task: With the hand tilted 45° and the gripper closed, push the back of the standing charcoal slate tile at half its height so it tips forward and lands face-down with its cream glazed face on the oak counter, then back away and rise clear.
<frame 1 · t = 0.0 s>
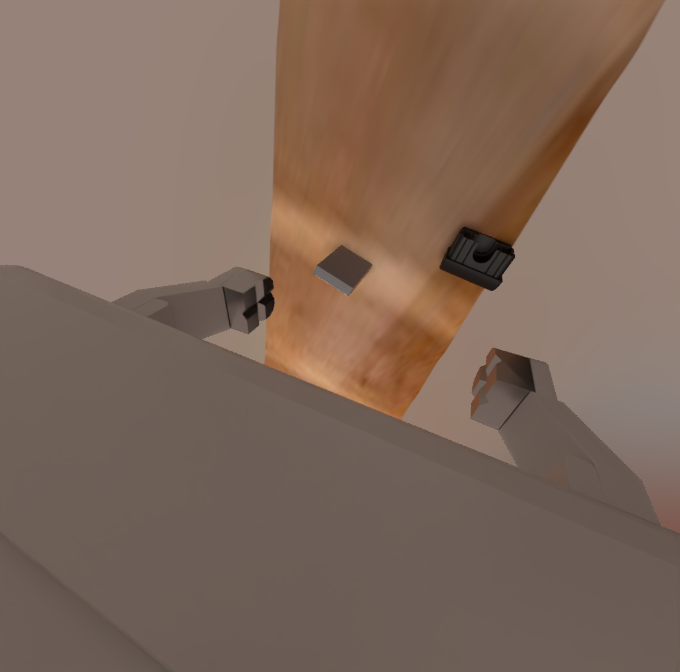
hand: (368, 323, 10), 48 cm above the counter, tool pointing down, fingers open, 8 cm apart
slate tile: (355, 258, 62), on the counter
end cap: (476, 253, 52), on the counter
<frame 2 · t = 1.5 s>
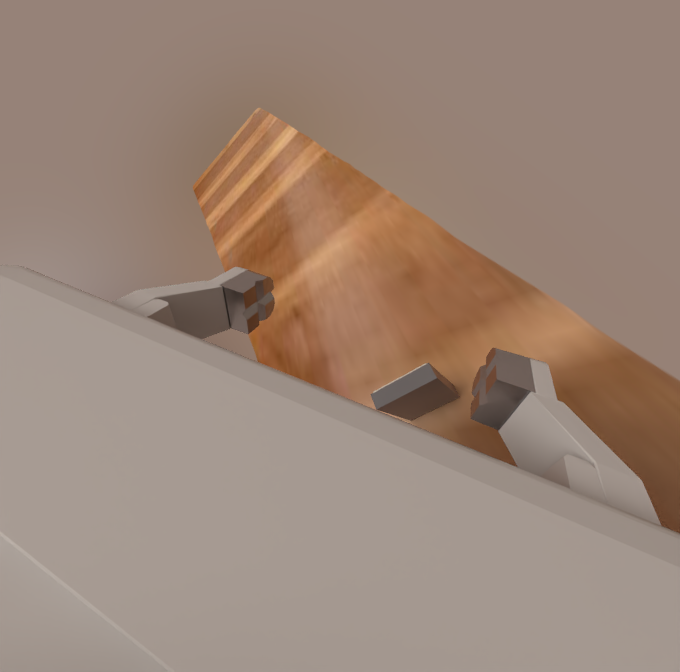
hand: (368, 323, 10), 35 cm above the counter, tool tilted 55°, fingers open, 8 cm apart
slate tile: (431, 403, 42), on the counter
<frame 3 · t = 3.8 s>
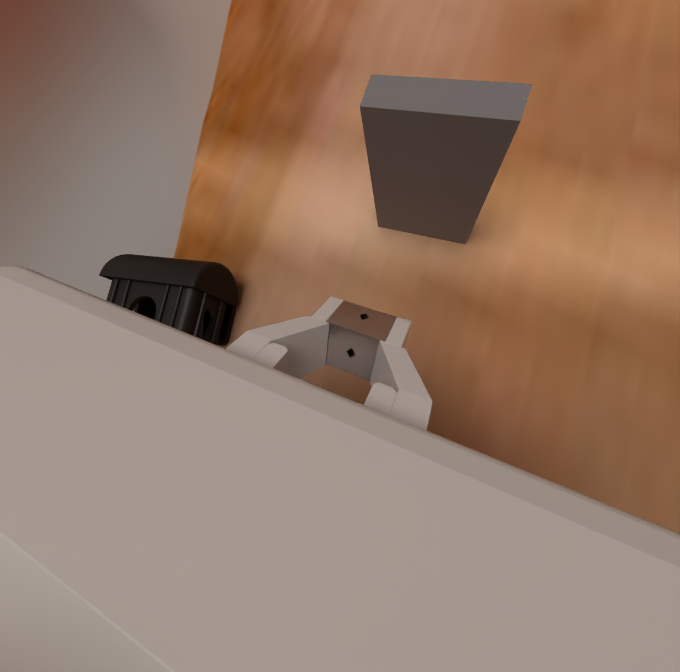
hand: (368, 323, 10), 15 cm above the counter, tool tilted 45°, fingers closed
slate tile: (423, 225, 26), on the counter
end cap: (199, 307, 30), on the counter
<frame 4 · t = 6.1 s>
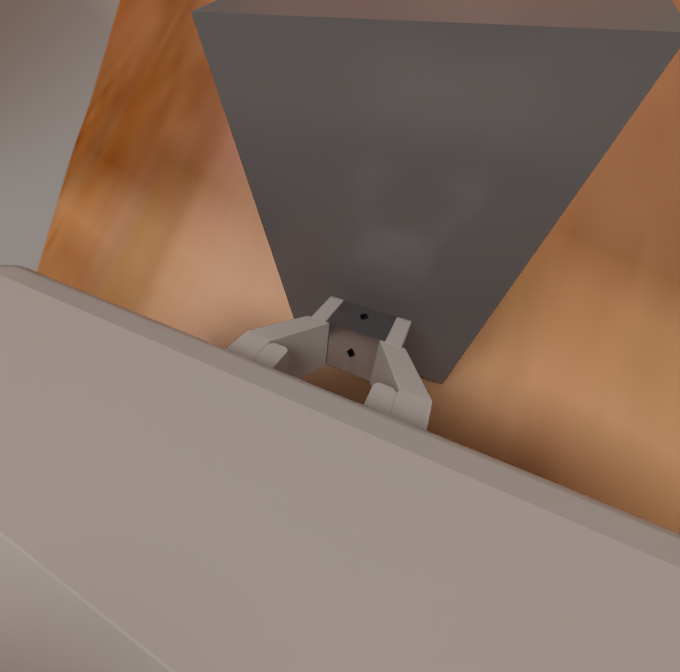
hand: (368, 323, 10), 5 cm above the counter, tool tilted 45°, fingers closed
slate tile: (372, 341, 15), on the counter, tilted 23°
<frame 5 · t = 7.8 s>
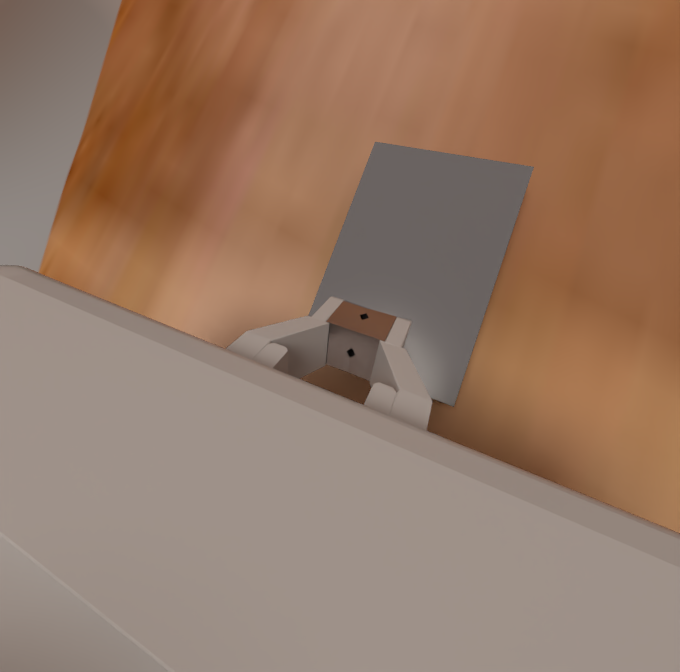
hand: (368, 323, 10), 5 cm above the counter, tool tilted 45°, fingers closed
slate tile: (371, 375, 14), point 1 cm above the counter, tilted 90°
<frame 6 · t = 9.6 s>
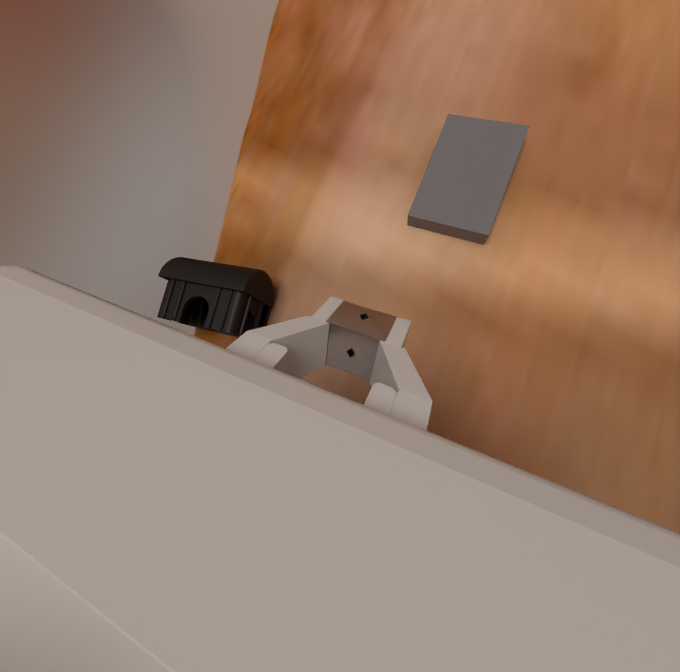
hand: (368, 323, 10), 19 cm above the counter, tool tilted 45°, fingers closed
slate tile: (445, 230, 29), point 1 cm above the counter, tilted 90°
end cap: (237, 306, 34), on the counter
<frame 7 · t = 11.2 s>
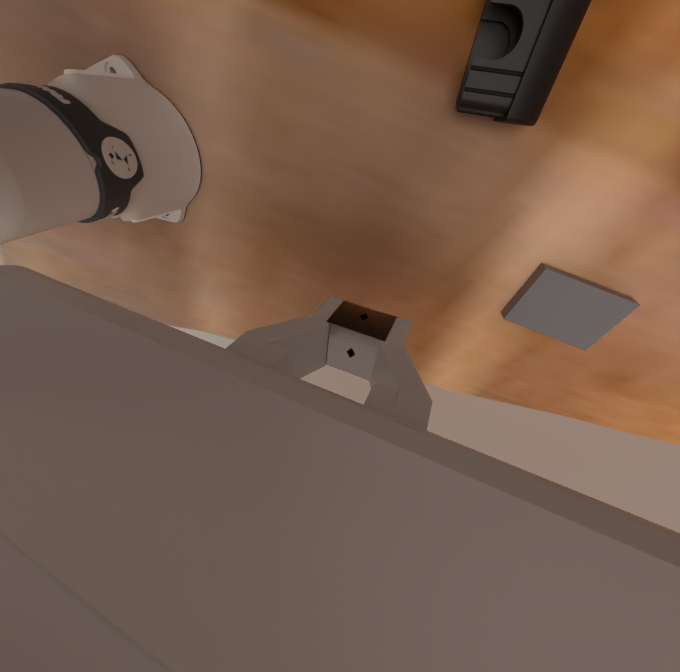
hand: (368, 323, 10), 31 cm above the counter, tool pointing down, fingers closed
slate tile: (521, 291, 37), point 1 cm above the counter, tilted 90°
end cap: (511, 52, 26), on the counter
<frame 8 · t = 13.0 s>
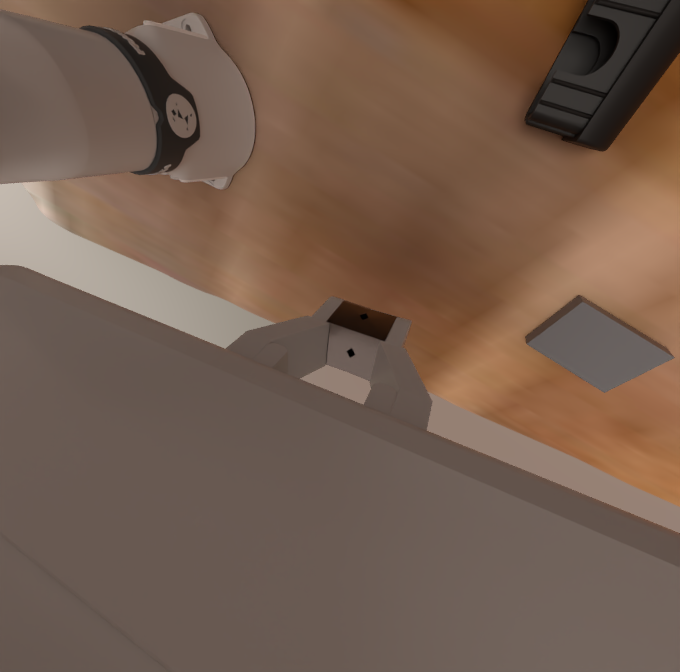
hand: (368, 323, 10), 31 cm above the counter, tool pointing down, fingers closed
slate tile: (551, 320, 36), point 1 cm above the counter, tilted 90°
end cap: (596, 70, 25), on the counter
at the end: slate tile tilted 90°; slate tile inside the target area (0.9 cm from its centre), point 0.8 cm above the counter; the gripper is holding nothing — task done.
